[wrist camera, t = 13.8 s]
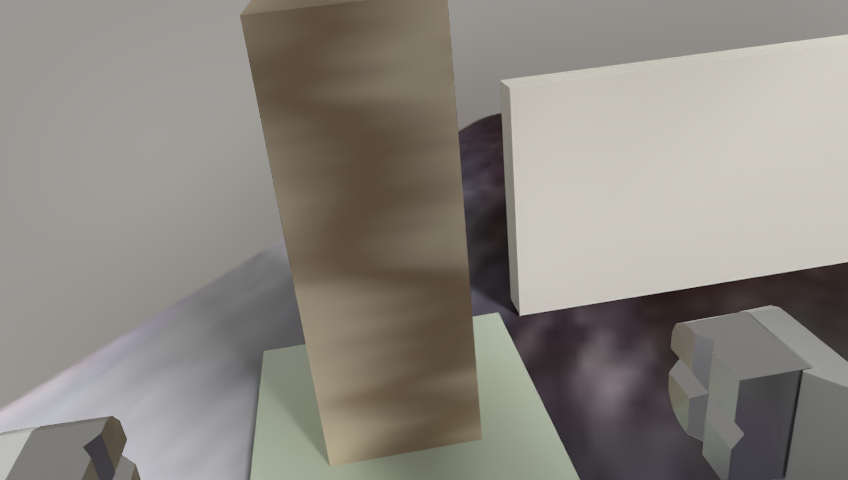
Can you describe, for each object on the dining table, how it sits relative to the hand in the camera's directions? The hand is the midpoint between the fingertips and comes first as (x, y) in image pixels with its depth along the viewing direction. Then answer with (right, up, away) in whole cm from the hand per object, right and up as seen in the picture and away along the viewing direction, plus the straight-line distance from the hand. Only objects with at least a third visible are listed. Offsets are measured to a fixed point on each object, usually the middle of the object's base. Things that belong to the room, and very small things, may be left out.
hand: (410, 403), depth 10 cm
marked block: (-1, -3, +15) cm, 15 cm away
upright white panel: (+13, +1, +22) cm, 25 cm away
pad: (-1, -4, +15) cm, 15 cm away
